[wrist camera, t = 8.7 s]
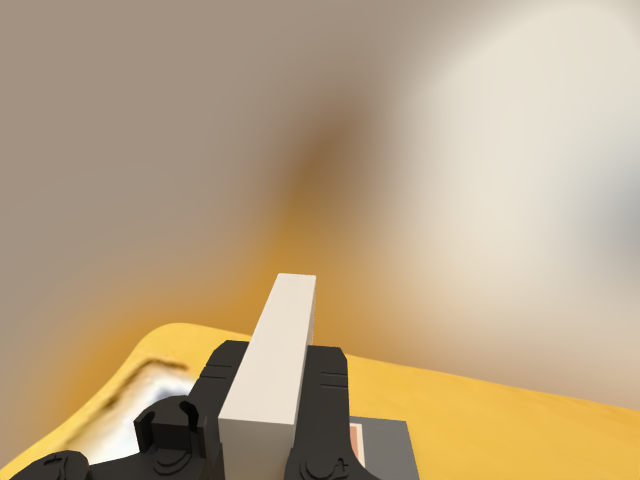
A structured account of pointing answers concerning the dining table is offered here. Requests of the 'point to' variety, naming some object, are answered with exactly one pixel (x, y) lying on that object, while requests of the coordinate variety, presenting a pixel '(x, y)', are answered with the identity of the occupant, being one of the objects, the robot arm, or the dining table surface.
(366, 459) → the mat
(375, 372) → the dining table surface
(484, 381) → the dining table surface
